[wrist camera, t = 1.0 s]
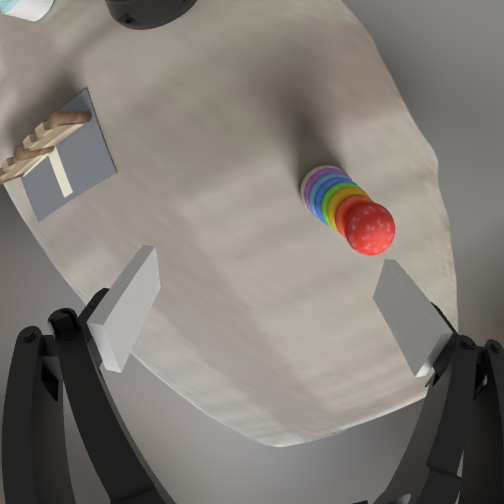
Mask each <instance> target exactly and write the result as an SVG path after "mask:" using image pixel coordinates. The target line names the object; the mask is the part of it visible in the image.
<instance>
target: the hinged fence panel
mask: <svg viewBox="0 0 504 504" xmlns="http://www.w3.org/2000/svg"><path fill="white" fill-rule="evenodd" d="M91 118H92V114H91V112H89V111H54V112H51V113H50V115H49V118H48V121H49V122H42V123H41V124H40V125H39V126H37V127H36V128H35V132H36V134H30V135H28V136H27V137H26V138H25V139H24V140H23V145H24V148H25V149H27V148H29V150H30V151H32V150H37V149H41V148H46V147H51V146H56V145H57V144H58V143H60V142H61V141H62V140H64V139H65V138H66V137H67V136H69V135H70V134H71V133H73V132H74V131H75V130H77V129H78V128H79V127H81V126H82V125H84V122H89V121H90V120H91Z"/></svg>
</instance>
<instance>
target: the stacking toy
mask: <svg viewBox="0 0 504 504" xmlns="http://www.w3.org/2000/svg"><path fill="white" fill-rule="evenodd" d="M300 195H301V200H302V203H303V205H304V206H305V208H306V209H307V210H308V211H309V212H310V213H311V214H313V215H315V216H316V217H317V218H318V219H319V220H321V221H322V222H323V223H325V224H326V225H328V226H330V227H332V228H333V229H335V230H337V231H338V232H340V234H341V235H343V236H344V237H345V238H346V239H347V241H348V243H349V244H350V246H351V247H352V248H353V249H354V250H356V251H357V252H359V253H361V254H364V255H377V254H380V253H382V252H383V251H385V250H386V249H387V248H388V247H389V246H390V244H391V243H392V241H393V239H394V235H395V223H394V220H393V217H392V216H391V214H390V213H389V211H388V210H387V209H386V208H384V207H383V206H381V205H379V204H377V203H374V202H373V201H372V200H371V199H370V197H369V196H368V195H367V193H366V192H364V191H363V190H362V189H361V188H360V187H359V186H357V184H356V183H354V182H353V181H352V179H351V178H350V177H349V176H348V175H347V174H346V173H345V172H343V171H342V170H341V169H339V168H337V167H335V166H330V165H323V166H318V167H316V168H314V169H312V170H311V171H309V172H308V173H307V175H306V176H305V177H304V179H303V181H302V184H301V188H300Z"/></svg>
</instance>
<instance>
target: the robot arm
mask: <svg viewBox="0 0 504 504" xmlns="http://www.w3.org/2000/svg"><path fill="white" fill-rule="evenodd" d="M105 1H106V4H107V6H108V9H109V12H110V14H111V16H112V17H113V18H114V19H115V20H116V21H117V22H118V23H120V24H121V25H123V26H125V27H127V28H130V29H136V30H144V29H151V28H155V27H159V26H162V25H165V24H167V23H169V22H171V21H173V20H175V19H177V18H178V17H180V16H181V15H183V14H184V13H185V12H187V11H188V10H189V9H190V8H191V7H192V6H193V5H194V4H195V2H196V1H197V0H105ZM160 288H161V287H160V279H159V271H158V263H157V254H156V246H145V245H143V246H142V248H141V249H140V250H139V251H138V253H137V254H136V255H135V256H134V258H133V259H132V260H131V261H130V263H129V264H128V265H127V267H126V268H125V269H124V270H123V272H122V273H121V274H120V276H119V277H118V278H117V280H116V281H115V282H114V284H113V285H112V287H111V288H110V289H108V288H103V289H101V290H100V291H98V292H97V293H96V294H95V295H94V296H93V298H92V299H91V301H90V302H89V303H88V304H87V307H85V308H84V310H83V311H82V313H81V314H80V315H79V317H77V314H76V313H75V311H74V310H73V309H70V308H62V309H59V310H57V311H55V312H53V313H52V314H51V315H50V317H49V318H48V325H49V327H50V330H51V331H52V334H53V335H42V332H41V330H40V329H39V328H38V327H36V326H29V327H26V328H25V329H23V330H22V331H21V332H20V333H19V335H18V337H17V340H16V344H15V349H14V352H13V357H12V361H11V366H10V371H9V377H8V383H7V389H6V395H5V403H4V414H3V426H2V472H3V486H4V494H5V502H6V504H76V503H75V499H74V494H73V490H72V485H71V479H70V474H69V468H68V461H67V453H66V444H65V433H64V417H63V381H64V384H65V388H66V392H67V395H68V399H69V402H70V406H71V409H72V412H73V415H74V418H75V421H76V424H77V427H78V430H79V432H80V435H81V438H82V440H83V443H84V445H85V448H86V450H87V452H88V455H89V457H90V459H91V462H92V463H93V466H94V468H95V470H96V472H97V474H98V476H99V478H100V480H101V482H102V484H103V486H104V488H105V490H106V492H107V494H108V495H109V498H110V500H111V503H110V504H176V503H175V502H174V500H173V499H172V498H171V497H170V495H169V494H168V493H167V491H166V490H165V489H164V487H163V486H162V484H161V483H160V482H159V480H158V479H157V477H156V476H155V474H154V473H153V471H152V470H151V468H150V467H149V465H148V464H147V462H146V460H145V459H144V457H143V455H142V454H141V452H140V450H139V449H138V447H137V445H136V443H135V442H134V440H133V438H132V437H131V435H130V433H129V431H128V429H127V427H126V425H125V423H124V421H123V419H122V417H121V415H120V414H119V411H118V409H117V407H116V405H115V403H114V401H113V399H112V396H111V394H110V392H109V390H108V387H107V385H106V383H105V380H104V378H103V375H102V373H101V371H100V368H99V367H100V365H101V363H102V361H103V363H104V365H105V368H106V369H107V370H111V371H115V372H120V373H121V372H122V370H123V368H124V365H125V363H126V361H127V359H128V356H129V354H130V352H131V349H132V347H133V345H134V343H135V341H136V338H137V336H138V334H139V332H140V330H141V327H142V325H143V323H144V321H145V319H146V317H147V315H148V313H149V310H150V308H151V306H152V304H153V302H154V300H155V298H156V296H157V294H158V292H159V290H160ZM373 299H374V301H375V303H376V304H377V306H378V308H379V310H380V311H381V313H382V315H383V317H384V318H385V320H386V322H387V324H388V326H389V328H390V329H391V331H392V333H393V335H394V337H395V339H396V341H397V343H398V345H399V346H400V348H401V350H402V352H403V354H404V356H405V358H406V360H407V362H408V364H409V366H410V368H411V370H412V372H413V375H414V377H419V376H424V375H427V374H428V372H429V371H430V369H431V368H432V366H433V368H434V370H435V372H434V374H433V375H432V377H431V378H430V379H429V381H428V382H427V383H426V385H425V387H427V386H428V385H429V384H430V385H429V388H428V392H427V395H426V398H425V401H424V404H423V407H422V410H421V413H420V416H419V419H418V421H417V424H416V427H415V429H414V432H413V435H412V437H411V439H410V442H409V444H408V447H407V449H406V451H405V453H404V455H403V457H402V460H401V462H400V464H399V466H398V468H397V470H396V472H395V474H394V476H393V478H392V480H391V482H390V483H389V485H388V487H387V488H386V490H385V491H384V492H383V493H382V494H381V495H380V496H379V497H378V498H377V500H376V501H375V502H374V503H373V504H455V502H456V500H457V497H458V494H459V491H460V495H459V502H458V504H504V349H503V347H502V346H501V344H500V343H499V342H497V341H495V340H493V339H489V340H488V341H487V342H486V344H485V345H484V347H481V346H476V344H475V342H474V341H473V340H472V339H470V338H469V337H468V336H465V335H458V333H457V332H456V330H455V329H454V328H453V326H452V325H451V324H450V322H449V321H448V320H447V318H446V317H445V316H444V315H443V313H442V312H441V310H440V309H439V308H438V307H437V306H436V305H435V304H433V303H432V302H430V301H429V300H428V299H427V297H426V296H425V295H424V294H423V292H422V291H421V290H420V289H419V287H418V286H417V285H416V284H415V282H414V281H413V280H412V279H411V278H410V276H409V275H408V274H407V273H406V272H405V271H404V269H403V268H402V267H401V266H400V265H399V264H398V262H397V261H396V260H387V259H385V261H384V264H383V268H382V271H381V274H380V277H379V281H378V284H377V287H376V290H375V293H374V296H373ZM486 378H487V384H486V385H485V386H484V381H485V379H486ZM463 449H464V455H463V470H462V478H461V477H459V476H457V470H458V467H459V463H460V460H461V457H462V453H463ZM353 504H368V502H367V500H366V501H362V502H358V503H353Z"/></svg>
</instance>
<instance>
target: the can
mask: <svg viewBox="0 0 504 504" xmlns="http://www.w3.org/2000/svg"><path fill="white" fill-rule="evenodd" d="M53 2H54V0H0V10H1V13H2V14H6V15H10V16H14V17H18V18H22V19H26V20H30V21H37V20H39V19H40V18H42V17H43V16H44V15H45V14H46V13H47V12H48V11H49V9H50V8H51V6H52V4H53Z"/></svg>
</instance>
